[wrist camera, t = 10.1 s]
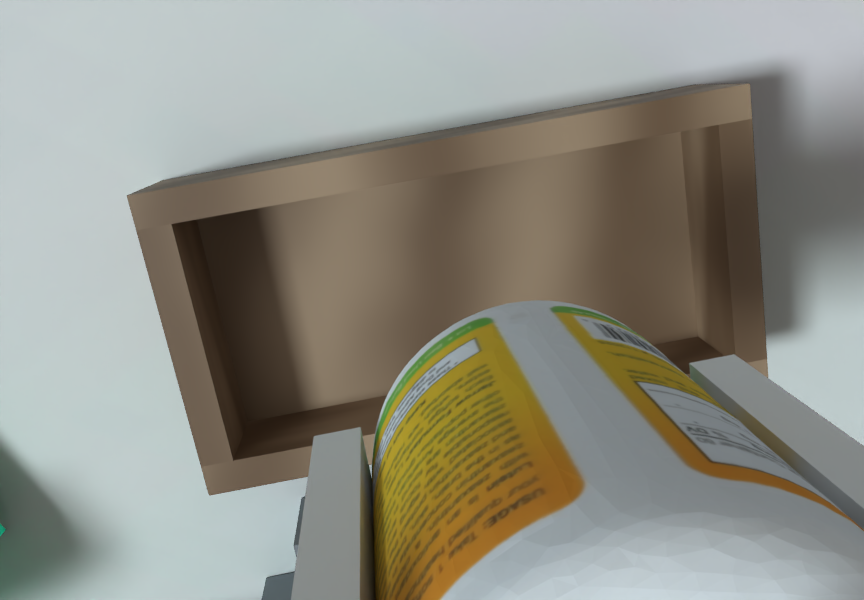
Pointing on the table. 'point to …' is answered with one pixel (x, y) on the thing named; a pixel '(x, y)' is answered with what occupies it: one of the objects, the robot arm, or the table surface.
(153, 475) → the table surface
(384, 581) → the supplement bottle
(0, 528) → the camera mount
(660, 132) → the trough
